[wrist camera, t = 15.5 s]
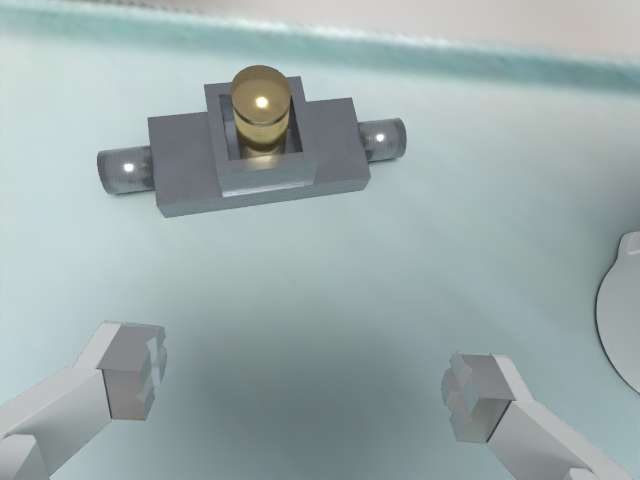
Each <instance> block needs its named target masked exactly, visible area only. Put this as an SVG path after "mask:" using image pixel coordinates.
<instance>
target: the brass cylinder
mask: <svg viewBox="0 0 640 480" xmlns="http://www.w3.org/2000/svg"><path fill="white" fill-rule="evenodd" d="M231 97H232V104H233V112H234V119H235V127H236V134H237V142H238V149H239V153H240V156H241V158H242V159H249V158H257V157H265V156H274V155H282V154H285V148H286V138H287V128H288V118H289V108H290V98H291V88H290V85H289V82H288V81H287V79H286V78H285V76H284V75H283V74H282V73H280V72H279V71H278V70H276V69H274V68H271V67H268V66H263V65H256V66H250V67H247V68H245V69H243V70H242V71H240V72H239V73H238V74H237V75H236V76H235V78H234V79H233V81H232V84H231Z"/></svg>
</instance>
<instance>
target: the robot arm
mask: <svg viewBox="0 0 640 480" xmlns="http://www.w3.org/2000/svg"><path fill="white" fill-rule="evenodd" d="M597 323H598V329H599V333H600V337H601V340H602V343H603V346H604V348H605V351H606V353H607V355H608V357H609V359H610V360H611V362H612V364H613V365H614V367H615V368H616V370H617V371H618V372H619V374H620V375H621V376H622V377H623V379H624V380H625V381H626V382H627V383H628V384H629V385H630V386H631V387H632V388H634V389H635V390H636V391H637V392H639V393H640V231H636V232H631V233H626V234H625V235H624V236H623V237H622V239H621V242H620V246H619V251H618V258H617V260H616V262H615V264H614V265H613V267H612V268H611V269H610V271H609V272H608V273H607V275H606V277H605V278H604V280H603V282H602V285H601V287H600V290H599V294H598V299H597ZM164 339H165V329H164V327H162V326H154V325H145V324H136V323H127V322H125V323H123V322H114V321H104V322H103V323H102V324H100V326H99V327H98V329H97V330H96V332H95V333H94V335H93V336H92V338H91V339H90V341H89V343H88V344H87V346H86V347H85V349H84V350H83V352H82V353H81V355H80V356H79V358H78V359H77V361H76V362H75V364H74V366H73V367H65V368H64V369H62V370H60V371H59V372H57V373H55V374H54V375H52V376H50V377H49V378H47V379H45V380H43V381H42V382H40V383H38V384H37V385H35V386H33V387H32V388H30V389H28V390H26V391H25V392H23V393H21V394H20V395H18V396H16V397H15V398H13V399H11V400H10V401H8V402H6V403H4V404H3V405H1V406H0V480H50V479H49V477H50V476H51V475H52V474H53V473H54V472H55V471H56V470H57V469H59V468H60V467H61V466H62V465H63V464H64V463H65V462H66V461H67V460H69V459H70V458H71V457H72V456H73V455H74V454H75V453H76V452H78V451H79V450H80V449H81V448H82V447H83V446H84V445H85V444H86V443H88V442H89V441H90V440H91V439H92V438H93V437H94V436H95V435H96V434H98V433H99V432H100V431H101V430H102V429H103V428H104V427H105V426H106V425H108V424H109V423H110V422H111V419H121V420H146V419H147V416H148V414H149V411H150V409H151V406H152V404H153V401H154V399H155V396H154V388H156V387H157V386H158V385H160V383H161V381H162V378H163V375H164V371H165V367H166V358H167V352H166V348H165V347H164V346H163V345H162V344H163V342H164ZM450 363H451V366H452V367H451V368H450V369H448V370H447V371H445V373H444V376H443V379H442V387H441V391H442V397H443V400H444V404H445V406H447V407H448V408H449V409H450V410H451V411H452V412H453V413H452V415H451V417H450V422H451V424H452V427H453V430H454V433H455V436H456V439H457V441H464V442H474V443H485V444H487V446H488V448H489V449H490V450H491V451H492V452H493V453H494V454H495V456H496V457H497V458H498V459H499V460H500V461H501V462H502V464H503V465H504V466H505V467H506V468H507V469H508V471H509V472H510V473H511V474H512V475H513V476H514V477H515V479H516V480H633V479H632V477H631V476H630V474H629V473H628V472H627V470H626V469H624V468H623V467H622V466H621V465H619V464H618V463H617V462H615V461H614V460H613V459H612V458H610V457H609V456H608V455H607V454H605V453H604V452H603V451H601V450H600V449H599V448H598V447H596V446H595V445H594V444H592V443H591V442H590V441H589V440H587V439H586V438H585V437H584V436H582V435H581V434H580V433H578V432H577V431H576V430H575V429H573V428H572V427H571V426H570V425H568V424H567V423H566V422H564V421H563V420H562V419H561V418H559V417H558V416H557V415H556V414H554V413H553V412H552V411H550V410H549V409H548V408H547V407H545V406H544V405H543V404H542V403H536V402H535V400H534V399H533V397H532V395H531V393H530V392H529V390H528V388H527V386H526V385H525V383H524V381H523V379H522V377H521V376H520V374H519V372H518V370H517V369H516V367H515V365H514V363H513V362H512V360H511V358H510V357H508V356H507V355H497V354H483V353H470V352H457V351H456V352H455V353H454V354H453V355H452V357H451V359H450Z"/></svg>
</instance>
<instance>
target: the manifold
mask: <svg viewBox="0 0 640 480" xmlns="http://www.w3.org/2000/svg"><path fill="white" fill-rule="evenodd" d="M286 79H287V81H288V82H289V85H290V88H291V98H290V108H289V118H288V128H287V138H286V148H285V154H282V155H274V156H265V157H257V158H249V159H242V158H241V156H240V153H239V149H238V142H237V134H236V127H235V119H234V112H233V104H232V97H231V84H232V82H229V83H217V84H206V85H204V90H205V96H206V103H207V110H208V112H200V113H190V114H180V115H169V116H159V117H149V118H148V128H149V137H150V146H141V147H132V148H123V149H114V150H105V151H99V153H98V156H97V166H98V172H99V176H100V180H101V182H102V185H103V187H104V189H105V191H106V192H107V193H108V194H118V193H126V192H134V191H141V190H149V189H155V192H156V201H157V207H158V208H159V209H160V211H161V212H162V213H163V215H164V216H165V217H166V218H168V217H175V216H182V215H189V214H196V213H203V212H210V211H218V210H225V209H232V208H239V207H246V206H253V205H260V204H267V203H274V202H281V201H288V200H295V199H303V198H310V197H317V196H324V195H331V194H338V193H345V192H352V191H359V190H363V189H364V188H365V186H366V184H367V183H368V181H369V180H370V178H371V175H370V171H369V167H368V163H367V161H375V160H383V159H391V158H398V157H402V156H403V155H404V153H405V150H406V131H405V127H404V124H403V122H402V120H401V119H399V118H395V119H386V120H377V121H368V122H359V123H358V121H357V117H356V113H355V109H354V105H353V101H352V98H342V99H331V100H321V101H311V102H306V100H305V95H304V91H303V86H302V81H301V77H300V76H297V77H286Z"/></svg>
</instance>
